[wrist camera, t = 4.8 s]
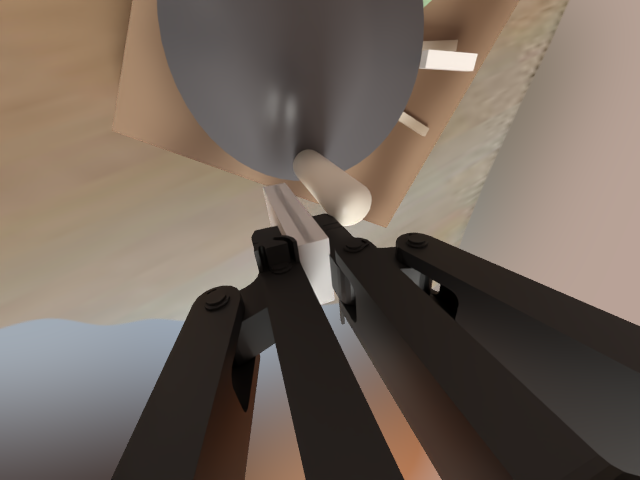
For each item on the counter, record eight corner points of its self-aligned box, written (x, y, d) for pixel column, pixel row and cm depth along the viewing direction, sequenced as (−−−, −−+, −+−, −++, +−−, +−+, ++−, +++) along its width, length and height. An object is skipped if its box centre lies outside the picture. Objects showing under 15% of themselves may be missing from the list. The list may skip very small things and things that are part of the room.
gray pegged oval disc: (194, 182, 17) (178, 246, 10) (116, -194, 10) (-102, -774, 3) (430, 167, 22) (522, 204, 15) (490, -89, 15) (710, -229, 8)
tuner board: (131, 121, 18) (109, 131, 14) (210, -308, 11) (206, -482, 8) (365, 210, 27) (387, 229, 23) (480, -1, 21) (534, -19, 17)
